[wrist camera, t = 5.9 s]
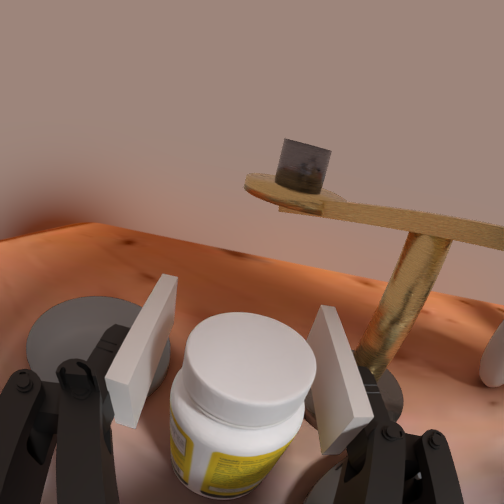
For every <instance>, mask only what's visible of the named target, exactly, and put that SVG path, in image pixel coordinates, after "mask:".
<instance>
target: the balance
mask: <svg viewBox="0 0 504 504" xmlns="http://www.w3.org/2000/svg"><path fill="white" fill-rule="evenodd" d="M330 155H331V151H330V150H326V149H323V148H319V147H315V146H312V145H308V144H304V143H301V142H297V141H293V140H289V139H284V143H283V147H282V151H281V155H280V160H279V164H278V168H277V172H276V175H269V174H260V173H252V174H248V175H247V176H246V180H245V184H244V189H245V190H246V191H247V192H248V193H250V194H251V195H253V196H255V197H257V198H260V199H262V200H265V201H267V202H270V203H273V204H275V205H278V206H279V212H287V213H294V214H302V215H309V216H316V217H323V218H330V219H337V220H344V221H350V222H356V223H363V224H369V225H375V226H381V227H387V228H393V229H399V230H404V231H409V233H408V236H407V239H406V241H405V244H404V247H403V249H402V252H401V254H400V257H399V259H398V262H397V264H396V267H395V269H394V271H393V274H392V276H391V278H390V281H389V283H388V285H387V287H386V290H385V292H384V294H383V296H382V298H381V300H380V303H379V305H378V307H377V309H376V311H375V313H374V315H373V317H372V319H371V321H370V323H369V325H368V327H367V329H366V331H365V333H364V335H363V337H362V338H361V340H360V342H359V344H358V346H357V348H356V350H355V351H354V350H352V353H353V356H354V359H355V362H356V364H357V366H365V367H367V368H368V369H369V370H370V371H371V373H372V374H373V375H374V377H375V380H376V382H377V386H378V388H379V390H380V394H381V396H382V398H383V401H384V404H385V407H386V409H387V412H388V415H389V418H390V420H391V421H393V422H396V421H397V420H398V418H399V417H400V415H401V413H402V409H403V394H402V390H401V388H400V386H399V384H398V382H397V380H396V379H395V377H394V376H393V375H392V374H391V372H390V371H389V370H388V369H387V367H388V366H389V364H390V363H391V361H392V359H393V358H394V356H395V355H396V353H397V351H398V350H399V348H400V347H401V345H402V343H403V342H404V340H405V338H406V336H407V335H408V333H409V331H410V330H411V328H412V326H413V324H414V322H415V321H416V319H417V317H418V315H419V313H420V311H421V309H422V307H423V306H424V304H425V302H426V300H427V298H428V296H429V294H430V292H431V289H432V287H433V285H434V283H435V281H436V279H437V276H438V275H439V272H440V270H441V268H442V265H443V263H444V261H445V258H446V256H447V253H448V251H449V249H450V246H451V244H452V241H453V240H456V241H461V242H466V243H471V244H475V245H479V246H484V247H488V248H493V249H497V250H501V251H504V226H500V225H495V224H490V223H485V222H480V221H475V220H469V219H464V218H458V217H453V216H447V215H441V214H435V213H428V212H422V211H415V210H409V209H401V208H394V207H387V206H378V205H370V204H362V203H354V202H347V201H346V200H345V199H343V198H342V197H341V196H339V195H337V194H335V193H333V192H331V191H328V190H326V189H323V188H322V185H323V182H324V178H325V174H326V171H327V167H328V163H329V159H330ZM304 404H305V412H304V418H305V419H306V420H307V421H308V422H309V423H310V424H311V425H312V426H314V427H315V428H316V429H317V430H318V427H317V421H316V414H315V408H314V402H313V396H312V390H311V387H310V389H309V392H308V394H307V395H306V397H305V399H304Z"/></svg>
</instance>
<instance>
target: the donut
mask: <svg viewBox="0 0 504 504" xmlns="http://www.w3.org/2000/svg"><path fill="white" fill-rule="evenodd" d="M479 375H480V378H481V380H482V382H483V383H484V384H485V385H486V386H488V387H498V386H501V385H503V384H504V320H503V321H502V323H501V324H500V325H499V327H498V328H497V330H496V331H495V333H494V334H493V336H492V337H491V339H490V341H489V343H488V345H487V347H486V348H485V351H484V353H483V356H482V358H481V361H480V368H479Z"/></svg>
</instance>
